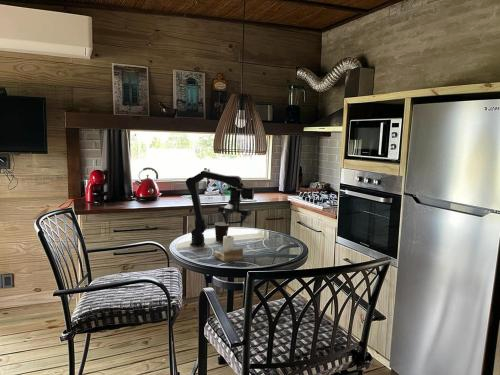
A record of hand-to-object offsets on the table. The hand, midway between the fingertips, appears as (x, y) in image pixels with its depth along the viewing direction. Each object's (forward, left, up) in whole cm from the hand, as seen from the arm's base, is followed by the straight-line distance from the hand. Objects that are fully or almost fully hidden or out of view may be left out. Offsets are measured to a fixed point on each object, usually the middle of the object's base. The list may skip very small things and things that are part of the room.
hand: (233, 225), depth 218 cm
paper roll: (+6, -17, -13) cm, 22 cm away
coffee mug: (-14, +9, -13) cm, 21 cm away
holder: (+6, -17, -13) cm, 22 cm away
